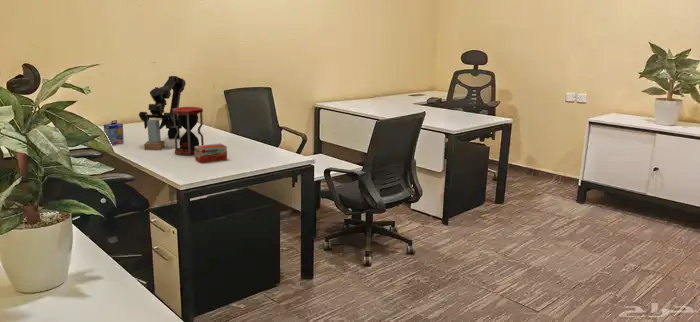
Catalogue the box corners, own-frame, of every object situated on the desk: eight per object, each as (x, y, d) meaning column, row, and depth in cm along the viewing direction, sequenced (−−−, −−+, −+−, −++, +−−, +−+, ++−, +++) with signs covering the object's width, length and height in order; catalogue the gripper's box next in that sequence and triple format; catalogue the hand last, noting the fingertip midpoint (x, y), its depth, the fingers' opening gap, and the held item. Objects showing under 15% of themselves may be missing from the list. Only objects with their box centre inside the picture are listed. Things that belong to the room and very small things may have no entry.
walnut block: (149, 147, 322) (149, 140, 321) (165, 147, 323) (164, 140, 322) (144, 150, 314) (144, 143, 313) (160, 150, 314) (160, 144, 313)
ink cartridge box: (110, 146, 320) (108, 121, 317) (104, 145, 323) (102, 120, 319) (124, 143, 329) (122, 119, 325) (118, 142, 331) (116, 118, 328)
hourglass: (174, 156, 300) (171, 111, 294) (175, 149, 315) (172, 106, 309) (204, 155, 304) (202, 110, 298) (204, 148, 319) (202, 106, 313)
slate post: (152, 141, 320) (150, 119, 317) (160, 141, 320) (159, 120, 317) (148, 142, 315) (147, 121, 312) (157, 142, 315) (155, 121, 312)
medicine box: (221, 157, 302) (220, 142, 300) (227, 160, 296) (227, 145, 294) (194, 160, 293) (194, 145, 291) (200, 163, 287) (199, 148, 285)
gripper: (138, 97, 315) (131, 120, 307) (170, 98, 314) (163, 121, 306) (145, 109, 325) (138, 131, 317) (176, 110, 324) (170, 132, 316)
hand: (152, 128), depth 314 cm, fingers open, 8 cm apart
